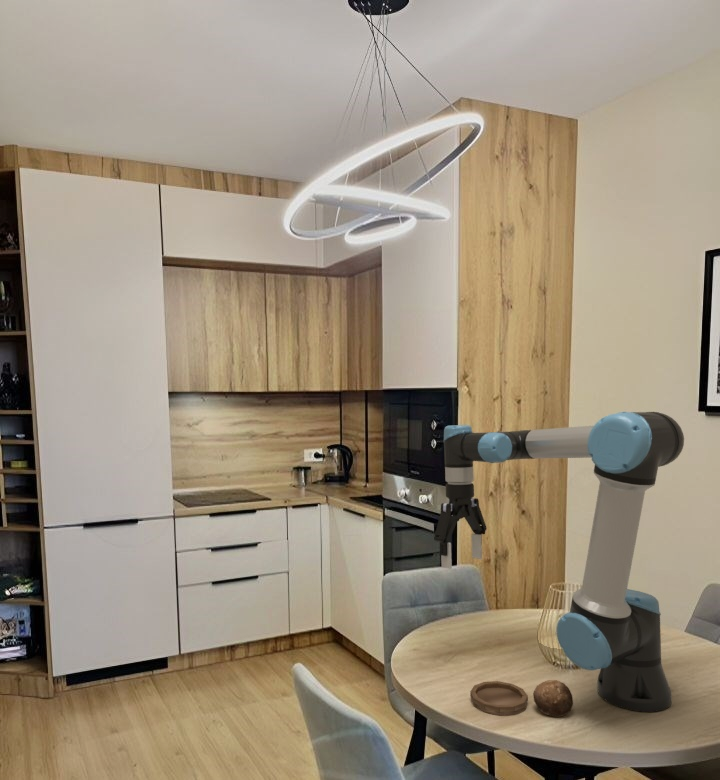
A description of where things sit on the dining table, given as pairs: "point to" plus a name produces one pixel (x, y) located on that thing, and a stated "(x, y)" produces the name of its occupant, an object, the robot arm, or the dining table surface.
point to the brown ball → (553, 698)
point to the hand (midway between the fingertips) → (462, 563)
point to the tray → (499, 698)
